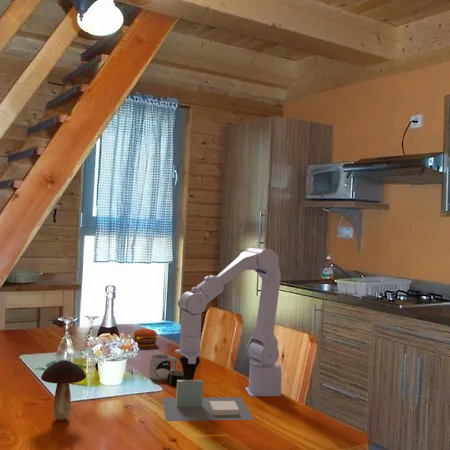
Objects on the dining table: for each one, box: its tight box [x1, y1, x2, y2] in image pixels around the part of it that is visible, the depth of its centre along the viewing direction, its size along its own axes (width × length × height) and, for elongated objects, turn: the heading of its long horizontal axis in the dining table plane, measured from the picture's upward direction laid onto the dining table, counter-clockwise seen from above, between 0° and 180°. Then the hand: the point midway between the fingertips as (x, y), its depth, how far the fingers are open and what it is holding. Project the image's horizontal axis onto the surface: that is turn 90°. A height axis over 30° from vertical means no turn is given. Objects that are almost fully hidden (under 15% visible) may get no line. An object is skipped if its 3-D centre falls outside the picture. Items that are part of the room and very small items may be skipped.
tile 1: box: [209, 401, 239, 416], centre depth 156 cm, size 7×2×7 cm
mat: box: [161, 396, 255, 422], centre depth 157 cm, size 23×18×1 cm
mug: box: [149, 353, 178, 381], centre depth 187 cm, size 10×7×7 cm
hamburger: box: [131, 327, 160, 349], centre depth 228 cm, size 9×10×7 cm
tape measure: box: [167, 370, 184, 387], centre depth 179 cm, size 7×7×4 cm
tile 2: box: [175, 379, 204, 407], centre depth 158 cm, size 7×2×7 cm, turn 100°
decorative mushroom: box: [40, 359, 87, 421], centre depth 145 cm, size 11×11×15 cm
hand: (188, 382), depth 162 cm, fingers closed
